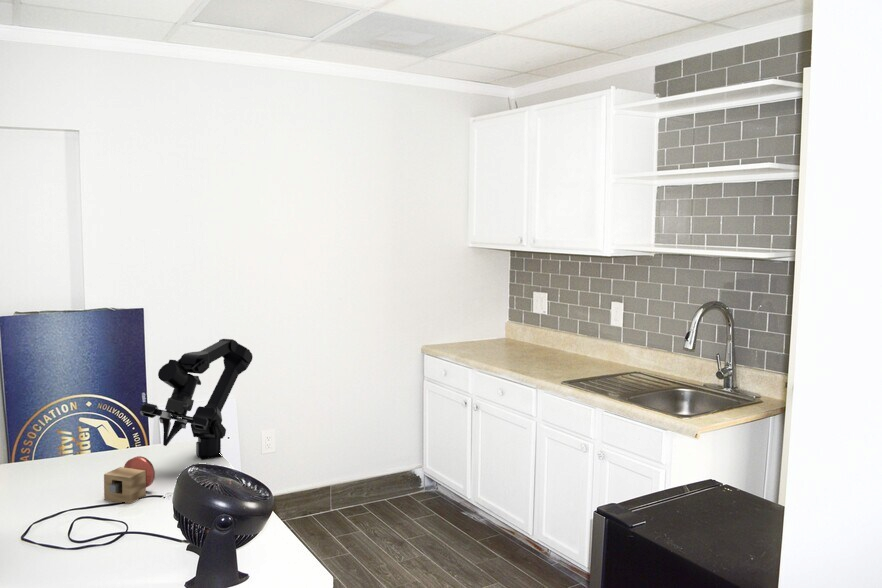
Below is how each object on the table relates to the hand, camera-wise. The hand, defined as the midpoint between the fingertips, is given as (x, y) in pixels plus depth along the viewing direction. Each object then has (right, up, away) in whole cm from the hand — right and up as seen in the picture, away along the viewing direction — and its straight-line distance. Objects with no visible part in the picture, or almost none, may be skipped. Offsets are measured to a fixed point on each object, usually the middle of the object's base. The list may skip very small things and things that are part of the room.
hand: (164, 445), depth 199 cm
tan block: (-5, -11, -15) cm, 19 cm away
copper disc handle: (-4, -10, -14) cm, 18 cm away
